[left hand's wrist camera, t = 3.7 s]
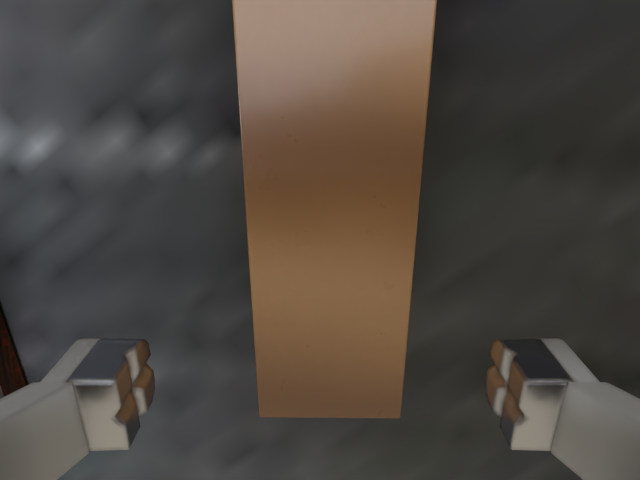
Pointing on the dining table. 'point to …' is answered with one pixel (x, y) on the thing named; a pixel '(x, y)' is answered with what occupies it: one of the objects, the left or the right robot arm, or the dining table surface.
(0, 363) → the bust
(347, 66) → the post
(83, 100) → the dining table surface
